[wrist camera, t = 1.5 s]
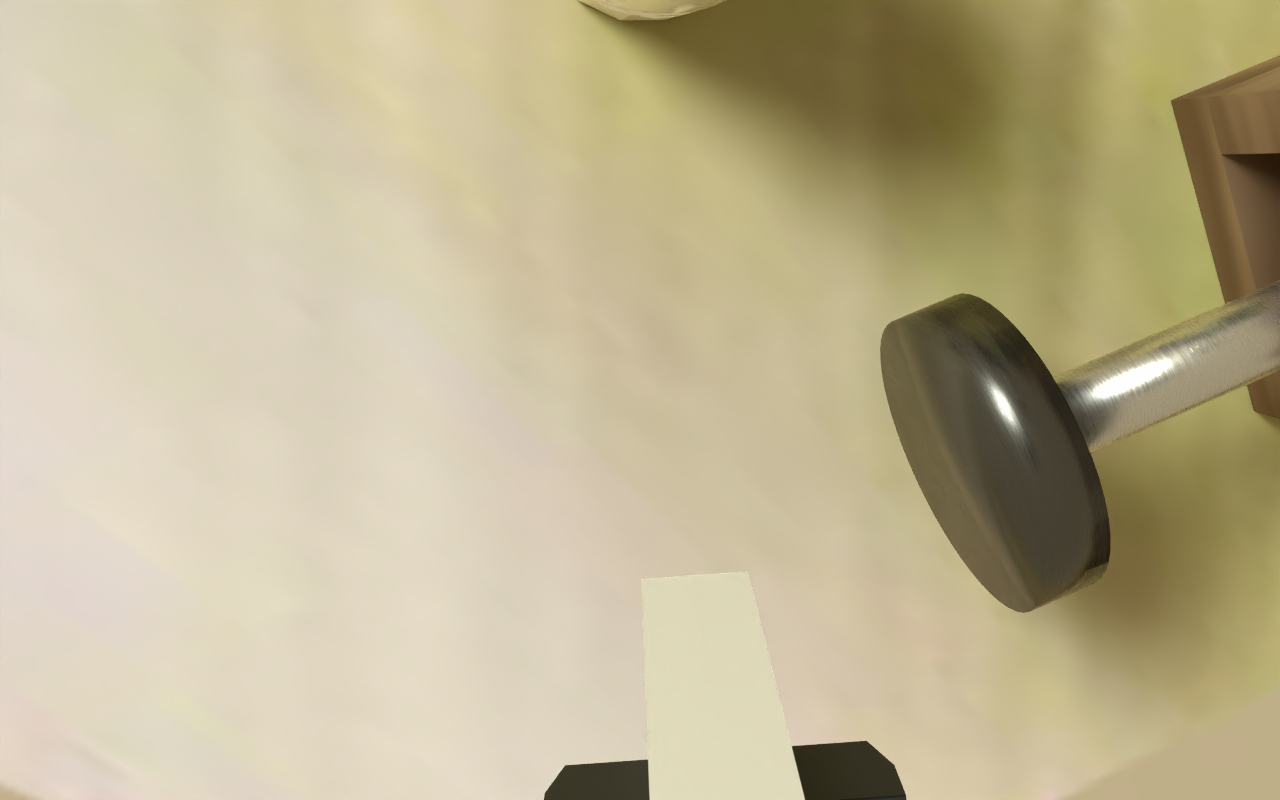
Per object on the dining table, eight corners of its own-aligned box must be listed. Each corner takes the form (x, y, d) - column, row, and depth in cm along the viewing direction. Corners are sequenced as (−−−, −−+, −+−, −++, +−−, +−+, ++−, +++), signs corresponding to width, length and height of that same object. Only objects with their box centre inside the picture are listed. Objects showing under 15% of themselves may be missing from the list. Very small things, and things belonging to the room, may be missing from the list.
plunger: (939, 553, 39) (1077, 663, 31) (852, 304, 37) (974, 344, 28) (1362, 368, 40) (1612, 423, 32) (1301, 116, 38) (1550, 100, 30)
